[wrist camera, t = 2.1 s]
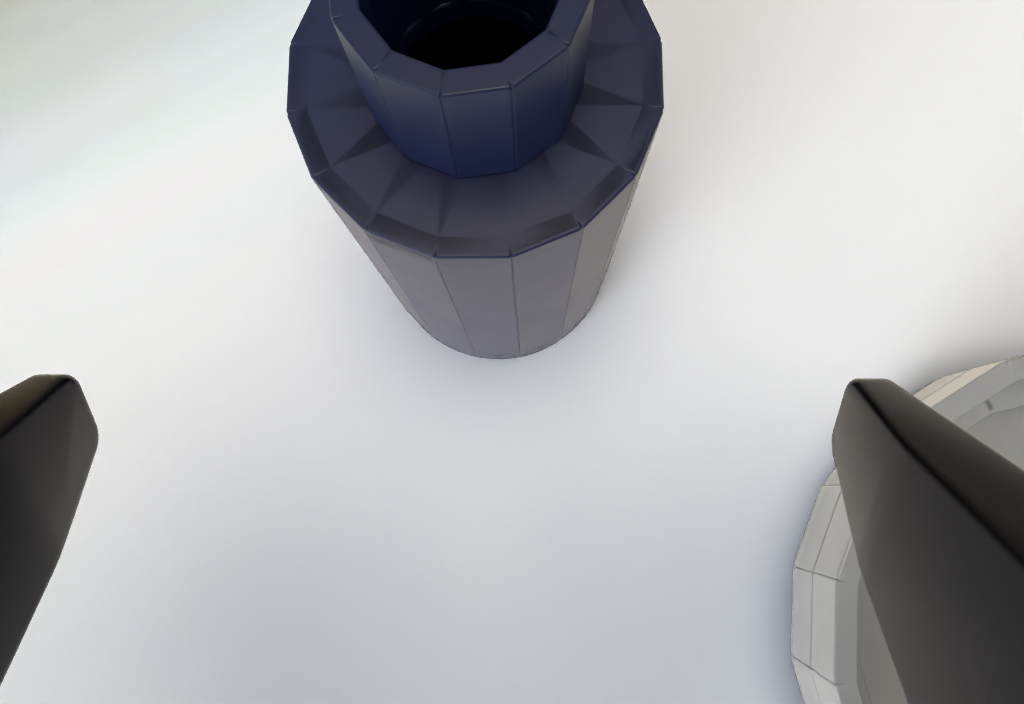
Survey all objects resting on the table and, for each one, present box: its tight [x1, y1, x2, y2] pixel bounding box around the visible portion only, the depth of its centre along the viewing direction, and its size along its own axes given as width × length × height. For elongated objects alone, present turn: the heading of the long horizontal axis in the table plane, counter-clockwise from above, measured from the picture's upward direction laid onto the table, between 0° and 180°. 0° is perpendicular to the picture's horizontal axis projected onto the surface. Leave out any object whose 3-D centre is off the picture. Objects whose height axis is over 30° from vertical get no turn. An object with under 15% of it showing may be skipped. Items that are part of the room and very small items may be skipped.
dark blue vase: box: [287, 0, 664, 359], centre depth 15 cm, size 6×6×12 cm
